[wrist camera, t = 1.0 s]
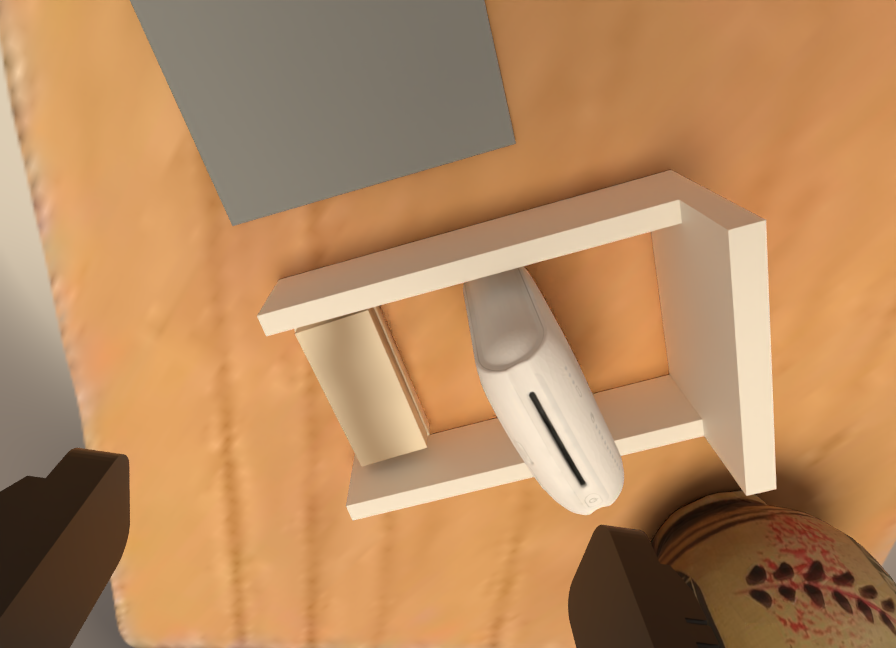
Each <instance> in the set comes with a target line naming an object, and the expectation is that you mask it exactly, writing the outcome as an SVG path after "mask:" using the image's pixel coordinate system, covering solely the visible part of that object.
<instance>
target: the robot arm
mask: <svg viewBox="0 0 896 648" xmlns="http://www.w3.org/2000/svg"><path fill="white" fill-rule="evenodd" d="M129 527H130V490H129V460H128V457H127V456H126V455H124V454H117V453H110V452H103V451H96V450H89V449H82V448H74V449H72V450H71V451H69V452H68V453H67V454H66V455H65V457H63V459H62V460H61V461H60V462H59V463H58V465H57V466H56V467H55V468H54V469H53V470H52V472H51V473H50V474H49V475H48V476H47V477H46V478H40V477H33V476H26V477H24V478H23V479H21V480H19V481H18V482H16V483H14V484H13V485H11V486H9V487H7V488H6V489H4V490H2V491H1V492H0V648H70V646H71V645H72V643H73V641H74V639H75V638H76V636H77V634H78V633H79V631H80V629H81V628H82V626H83V624H84V622H85V621H86V619H87V617H88V615H89V614H90V612H91V610H92V608H93V607H94V605H95V603H96V602H97V600H98V598H99V596H100V595H101V593H102V591H103V590H104V588H105V586H106V584H107V583H108V581H109V579H110V578H111V576H112V574H113V572H114V571H115V569H116V567H117V565H118V563H119V561H120V559H121V557H122V554H123V552H124V549H125V546H126V543H127V539H128V534H129ZM568 612H569V620H570V624H571V628H572V632H573V636H574V640H575V644H576V648H719V643H718V641H717V639H716V637H715V635H714V633H713V631H712V629H711V627H710V626H708V625H707V619H706V616H705V614H704V612H703V610H702V608H701V606H700V604H699V602H698V600H697V598H696V596H695V594H694V592H693V591H692V590H691V588H690V587H689V586H688V585H687V584H686V583H685V582H684V580H683V579H682V578H681V577H680V576H679V575H678V574H677V572H676V571H675V570H674V569H673V568H672V567H671V566H670V565H665V564H660V563H659V560H658V558H657V556H656V554H655V552H654V549H653V547H652V545H651V543H650V541H649V539H648V537H647V535H646V534H645V533H644V532H643V531H641V530H635V529H628V528H621V527H614V526H607V525H599V526H598V527H597V528H596V529H595V531H594V533H593V535H592V537H591V539H590V542H589V544H588V546H587V549H586V551H585V553H584V556H583V558H582V560H581V562H580V565H579V567H578V569H577V572H576V574H575V576H574V579H573V581H572V584H571V587H570V591H569V599H568Z"/></svg>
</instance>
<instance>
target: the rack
mask: <svg viewBox="0 0 896 648" xmlns="http://www.w3.org/2000/svg"><path fill="white" fill-rule="evenodd" d="M647 232H651V235H652V243H653V251H654V259H655V266H656V274H657V282H658V290H659V297H660V305H661V313H662V321H663V328H664V336H665V344H666V352H667V359H668V367H669V375H666V376H662V377H658V378H654V379H650V380H646V381H642V382H638V383H634V384H630V385H626V386H622V387H618V388H614V389H610V390H606V391H602V392H598V393H594V394H593V396H594V399H595V401H596V403H597V405H598V407H599V409H600V412H601V414H602V416H603V418H604V420H605V422H606V424H607V427H608V429H609V431H610V433H611V435H612V437H613V439H614V441H615V444H616V446H617V448H618V451H619V453H620V456H622V455H627V454H631V453H635V452H639V451H643V450H647V449H651V448H656V447H660V446H664V445H668V444H672V443H676V442H681V441H685V440H689V439H693V438H697V437H701V436H704V437H705V438H706V439H707V441H708V442H709V444H710V445H711V446H712V448H713V449H714V451H715V452H716V454H717V455H718V456H719V458H720V459H721V461H722V462H723V463H724V465H725V466H726V468H727V469H728V471H729V472H730V473H731V475H732V476H733V478H734V479H735V480H736V482H737V483H738V485H739V486H740V488H741V489H742V490H743V492H744V493H745V495H746V496H748V495H753V494H757V493H761V492H766V491H770V490H774V489H776V465H775V440H774V414H773V388H772V362H771V337H770V311H769V285H768V259H767V234H766V220H765V219H763V218H761V217H759V216H757V215H756V214H754V213H752V212H750V211H748V210H746V209H744V208H742V207H740V206H739V205H737V204H735V203H733V202H731V201H729V200H727V199H725V198H723V197H722V196H720V195H718V194H716V193H714V192H712V191H710V190H708V189H706V188H705V187H703V186H701V185H699V184H697V183H695V182H693V181H691V180H689V179H688V178H686V177H684V176H682V175H680V174H678V173H676V172H674V171H672V170H668V171H665V172H661V173H658V174H654V175H650V176H647V177H643V178H640V179H636V180H633V181H629V182H625V183H622V184H618V185H615V186H611V187H608V188H604V189H601V190H597V191H593V192H590V193H586V194H583V195H579V196H576V197H572V198H568V199H565V200H561V201H558V202H554V203H551V204H547V205H543V206H540V207H536V208H533V209H529V210H526V211H522V212H519V213H515V214H511V215H508V216H504V217H501V218H497V219H494V220H490V221H486V222H483V223H479V224H476V225H472V226H469V227H465V228H461V229H458V230H454V231H451V232H447V233H444V234H440V235H437V236H433V237H429V238H426V239H422V240H419V241H415V242H412V243H408V244H404V245H401V246H397V247H394V248H390V249H387V250H383V251H379V252H376V253H372V254H369V255H365V256H362V257H358V258H355V259H351V260H347V261H344V262H340V263H337V264H333V265H330V266H326V267H322V268H319V269H315V270H312V271H308V272H305V273H301V274H297V275H294V276H290V277H287V278H283V279H280V280H278V282H277V284H276V285H275V287H274V289H273V290H272V292H271V294H270V295H269V297H268V298H267V300H266V302H265V303H264V305H263V307H262V308H261V310H260V312H259V313H258V315H257V317H258V319H259V321H260V324H261V326H262V328H263V330H264V332H265V334H266V336H269V335H273V334H277V333H280V332H284V331H288V330H291V329H295V328H299V327H302V326H306V325H310V324H313V323H317V322H321V321H324V320H328V319H332V318H335V317H339V316H343V315H346V314H350V313H354V312H357V311H361V310H365V309H368V308H372V307H376V306H379V305H383V304H387V303H390V302H394V301H398V300H401V299H405V298H409V297H412V296H416V295H420V294H423V293H427V292H431V291H434V290H438V289H442V288H445V287H449V286H453V285H456V284H460V283H464V282H467V281H471V280H475V279H478V278H482V277H486V276H489V275H493V274H497V273H500V272H504V271H508V270H512V269H515V268H519V267H523V266H526V265H530V264H534V263H537V262H541V261H545V260H548V259H552V258H556V257H559V256H563V255H567V254H570V253H574V252H578V251H581V250H585V249H589V248H592V247H596V246H600V245H603V244H607V243H611V242H614V241H618V240H622V239H625V238H629V237H633V236H636V235H640V234H644V233H647ZM531 477H534V476H533V474H532V473H531V471H530V470H529V469H528V467H527V465H526V464H525V462H524V461H523V459H522V458H521V456H520V455H519V453H518V452H517V450H516V448H515V447H514V445H513V443H512V442H511V440H510V438H509V437H508V435H507V433H506V432H505V430H504V428H503V426H502V425H501V423H500V421H499V419H498V418H495V419H491V420H487V421H483V422H479V423H475V424H471V425H467V426H463V427H459V428H455V429H451V430H447V431H443V432H439V433H435V434H431V435H428V436H427V448H424V449H421V450H417V451H414V452H410V453H407V454H403V455H400V456H397V457H393V458H390V459H386V460H383V461H379V462H376V463H372V464H369V465H366V466H361V464H360V462H359V460H358V458H357V456H356V454H355V455H354V461H353V467H352V473H351V479H350V485H349V491H348V497H347V503H346V507H347V509H348V511H349V514H350V516H351V518H352V520H357V519H361V518H365V517H369V516H373V515H378V514H382V513H386V512H390V511H394V510H398V509H402V508H407V507H411V506H415V505H419V504H423V503H427V502H431V501H436V500H440V499H444V498H448V497H452V496H456V495H461V494H465V493H469V492H473V491H477V490H481V489H485V488H490V487H494V486H498V485H502V484H506V483H510V482H515V481H519V480H523V479H527V478H531Z"/></svg>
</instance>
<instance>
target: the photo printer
mask: <svg viewBox="0 0 896 648" xmlns="http://www.w3.org/2000/svg"><path fill="white" fill-rule="evenodd" d="M463 293H464V299H465V304H466V310H467V316H468V322H469V327H470V333H471V339H472V345H473V351H474V357H475V363H476V367H477V371H478V374H479V377H480V381H481V385H482V387H483V389H484V392H485V394H486V396H487V398H488V400H489V402H490V404H491V406H492V408H493V410H494V412H495V414H496V416H497V417H498V419H499V421H500V423H501V425H502V426H503V428H504V430H505V432H506V433H507V435H508V437H509V438H510V440H511V442H512V443H513V445H514V447H515V448H516V450H517V452H518V453H519V455H520V456H521V458H522V459H523V461H524V462H525V464H526V465H527V467H528V469H529V470H530V471H531V473H532V474H533V476H534V477H535V479H536V480H537V481H538V483H539V484H540V485H541V487H542V488H543V489H544V490H545V491H546V492H547V493H548V494H549V495H550V496H551V497H552V498H553V499H554V500H555V501H556V502H558V503H559V504H560V505H562V506H563V507H565V508H566V509H568V510H569V511H571V512H574V513H577V514H582V515H589V514H591V513H592V512H594V511H595V510H597V509H599V508H601V507H605V506H610V505H611V504H612V503H614V502H615V500H616V499H617V498H618V496H619V494H620V492H621V490H622V488H623V484H624V470H623V464H622V459H621V456H620V453H619V451H618V448H617V446H616V444H615V441H614V439H613V437H612V435H611V433H610V431H609V429H608V427H607V424H606V422H605V420H604V418H603V416H602V414H601V412H600V409H599V407H598V405H597V403H596V401H595V399H594V396H593V394H592V392H591V390H590V388H589V385H588V383H587V381H586V379H585V377H584V374H583V372H582V370H581V368H580V366H579V364H578V362H577V360H576V358H575V356H574V354H573V352H572V350H571V348H570V346H569V344H568V342H567V340H566V338H565V336H564V334H563V332H562V330H561V328H560V326H559V325H558V323H557V321H556V319H555V317H554V315H553V313H552V312H551V310H550V308H549V306H548V304H547V303H546V301H545V299H544V297H543V296H542V294H541V292H540V290H539V289H538V287H537V285H536V283H535V282H534V280H533V278H532V277H531V275H530V274H529V272H528V271H527V270H526V268H525V267H524V266H523V267H519V268H515V269H512V270H508V271H504V272H500V273H497V274H493V275H489V276H486V277H482V278H478V279H475V280H471V281H468V282H466V283H464V284H463Z"/></svg>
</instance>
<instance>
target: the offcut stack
mask: <svg viewBox="0 0 896 648" xmlns="http://www.w3.org/2000/svg"><path fill="white" fill-rule="evenodd" d="M294 330H295V335H296V337H297V339H298V341H299V343H300V345H301V347H302V349H303V351H304V353H305V355H306V357H307V359H308V361H309V363H310V365H311V367H312V369H313V371H314V373H315V375H316V377H317V379H318V381H319V383H320V385H321V387H322V389H323V391H324V393H325V395H326V397H327V399H328V401H329V403H330V405H331V407H332V409H333V411H334V413H335V415H336V417H337V419H338V421H339V423H340V425H341V427H342V429H343V431H344V433H345V435H346V437H347V439H348V441H349V443H350V445H351V446H352V448H353V450H354V452H355V454H356V456H357V458H358V460H359V462H360V464H361V466H366V465H369V464H372V463H376V462H379V461H383V460H386V459H390V458H393V457H397V456H400V455H403V454H407V453H410V452H414V451H417V450H421V449H424V448H427V436H428V435H430V425H429V422H428V420H427V418H426V415H425V413H424V411H423V408H422V406H421V403H420V401H419V399H418V396H417V394H416V392H415V389H414V387H413V384H412V382H411V380H410V377H409V375H408V373H407V370H406V368H405V365H404V363H403V361H402V358H401V356H400V353H399V351H398V349H397V346H396V344H395V342H394V339H393V337H392V334H391V332H390V330H389V327H388V325H387V323H386V320H385V318H384V315H383V313H382V311H381V308H380V306H376V307H372V308H368V309H365V310H361V311H357V312H354V313H350V314H346V315H343V316H339V317H335V318H332V319H328V320H324V321H321V322H317V323H313V324H310V325H306V326H302V327H299V328H295V329H294Z"/></svg>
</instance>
